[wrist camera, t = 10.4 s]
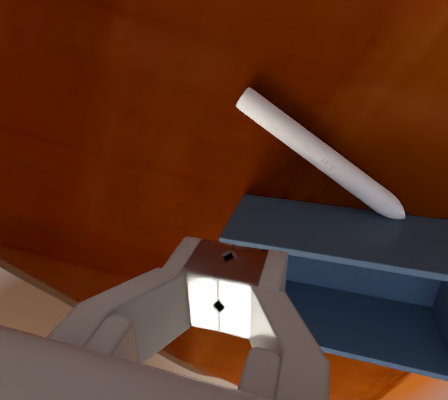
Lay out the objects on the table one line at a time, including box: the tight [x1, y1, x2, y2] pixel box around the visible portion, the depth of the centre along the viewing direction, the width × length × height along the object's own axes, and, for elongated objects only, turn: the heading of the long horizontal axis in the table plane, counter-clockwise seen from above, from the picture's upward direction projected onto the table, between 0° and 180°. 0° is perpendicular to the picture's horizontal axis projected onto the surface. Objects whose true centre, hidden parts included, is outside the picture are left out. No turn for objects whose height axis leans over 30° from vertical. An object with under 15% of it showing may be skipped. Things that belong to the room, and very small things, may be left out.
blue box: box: [219, 194, 448, 381], centre depth 31 cm, size 10×20×8 cm, turn 90°
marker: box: [236, 87, 405, 219], centre depth 30 cm, size 18×2×2 cm, turn 57°
